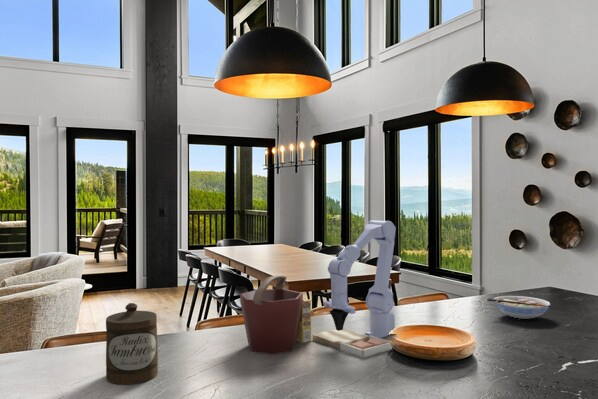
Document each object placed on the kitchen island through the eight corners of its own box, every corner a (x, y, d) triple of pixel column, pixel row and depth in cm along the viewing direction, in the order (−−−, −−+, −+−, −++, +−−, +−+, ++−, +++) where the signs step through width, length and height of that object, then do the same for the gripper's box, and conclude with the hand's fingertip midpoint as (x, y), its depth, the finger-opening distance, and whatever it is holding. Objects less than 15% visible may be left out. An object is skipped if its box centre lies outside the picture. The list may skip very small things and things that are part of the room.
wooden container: (107, 388, 144) (106, 311, 144) (104, 371, 158) (104, 300, 158) (161, 380, 150) (160, 306, 150) (154, 364, 164) (153, 296, 163)
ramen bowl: (556, 316, 225) (556, 297, 225) (549, 328, 206) (549, 307, 206) (496, 309, 239) (496, 291, 238) (485, 319, 219) (485, 300, 219)
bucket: (270, 333, 199) (270, 269, 198) (318, 343, 186) (318, 275, 186) (227, 349, 179) (226, 278, 178) (276, 361, 166) (276, 285, 166)
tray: (370, 341, 188) (370, 335, 188) (393, 349, 179) (393, 342, 179) (340, 349, 178) (340, 342, 178) (362, 357, 170) (362, 350, 170)
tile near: (387, 341, 178) (387, 348, 178) (376, 338, 182) (376, 345, 182) (377, 344, 175) (377, 351, 175) (366, 341, 179) (366, 348, 179)
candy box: (311, 341, 189) (311, 300, 188) (302, 343, 186) (302, 301, 186) (298, 335, 196) (298, 295, 196) (289, 337, 194) (289, 297, 194)
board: (342, 332, 200) (342, 327, 200) (369, 341, 188) (369, 336, 188) (312, 339, 190) (312, 334, 190) (339, 349, 179) (339, 344, 179)
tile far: (371, 344, 175) (371, 351, 175) (361, 341, 179) (361, 348, 179) (361, 347, 172) (361, 354, 172) (351, 343, 176) (351, 350, 176)
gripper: (317, 291, 187) (317, 327, 188) (345, 297, 176) (345, 336, 176) (331, 288, 192) (332, 324, 192) (359, 294, 181) (359, 332, 181)
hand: (339, 329), depth 185 cm, fingers closed
